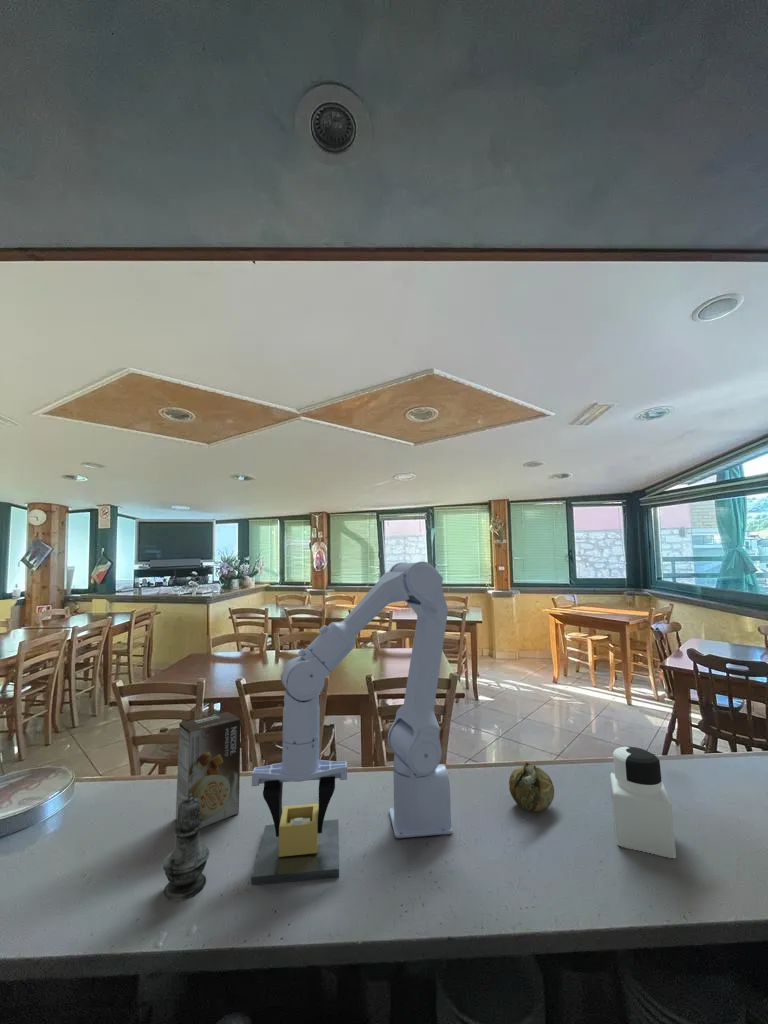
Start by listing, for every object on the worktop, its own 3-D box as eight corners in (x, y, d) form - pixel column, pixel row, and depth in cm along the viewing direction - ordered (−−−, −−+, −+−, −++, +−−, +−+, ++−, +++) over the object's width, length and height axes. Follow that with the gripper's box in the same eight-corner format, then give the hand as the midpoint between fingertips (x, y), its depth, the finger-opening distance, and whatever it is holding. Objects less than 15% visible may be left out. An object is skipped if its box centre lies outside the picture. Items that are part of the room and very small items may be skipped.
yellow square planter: (318, 830, 68) (318, 799, 69) (317, 852, 62) (317, 819, 63) (283, 833, 67) (283, 802, 68) (278, 856, 62) (279, 822, 62)
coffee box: (226, 799, 80) (229, 710, 82) (239, 813, 75) (242, 718, 77) (173, 818, 74) (178, 721, 76) (185, 835, 69) (190, 731, 71)
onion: (565, 815, 73) (562, 766, 75) (525, 822, 72) (522, 772, 73) (539, 793, 81) (537, 749, 82) (502, 799, 79) (500, 753, 80)
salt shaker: (190, 906, 54) (195, 805, 56) (150, 899, 56) (156, 801, 57) (217, 874, 60) (220, 783, 62) (180, 868, 61) (185, 779, 63)
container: (667, 831, 69) (659, 746, 70) (677, 861, 62) (668, 766, 64) (613, 820, 72) (607, 739, 74) (617, 847, 65) (610, 757, 67)
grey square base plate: (338, 825, 71) (338, 800, 72) (339, 876, 59) (339, 845, 60) (265, 831, 70) (266, 805, 70) (251, 885, 58) (252, 853, 58)
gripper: (346, 725, 72) (346, 812, 70) (258, 730, 70) (256, 819, 68) (347, 742, 65) (347, 839, 63) (250, 748, 63) (247, 847, 61)
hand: (299, 831), depth 65 cm, fingers closed on yellow square planter, 5 cm apart
